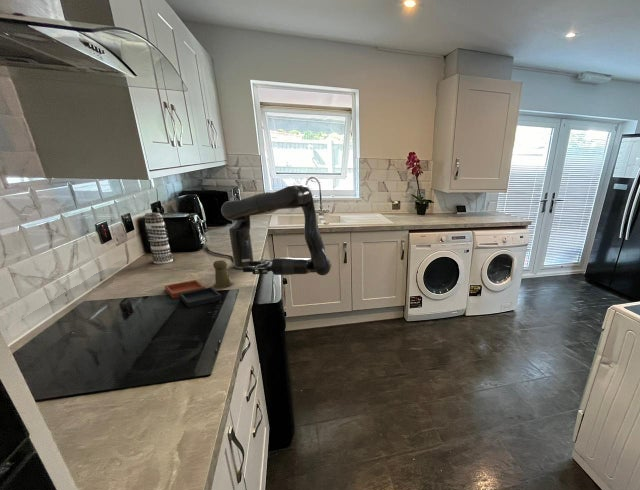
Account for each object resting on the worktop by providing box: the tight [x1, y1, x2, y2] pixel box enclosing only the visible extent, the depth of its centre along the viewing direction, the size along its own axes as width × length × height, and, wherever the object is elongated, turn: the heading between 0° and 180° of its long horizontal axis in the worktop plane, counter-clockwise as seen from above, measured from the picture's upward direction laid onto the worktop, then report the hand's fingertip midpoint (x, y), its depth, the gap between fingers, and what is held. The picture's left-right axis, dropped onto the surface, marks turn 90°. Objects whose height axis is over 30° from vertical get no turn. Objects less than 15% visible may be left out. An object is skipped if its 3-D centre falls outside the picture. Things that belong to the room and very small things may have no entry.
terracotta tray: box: [164, 279, 206, 299], centre depth 133 cm, size 12×12×2 cm
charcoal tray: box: [179, 286, 223, 309], centre depth 126 cm, size 12×12×2 cm
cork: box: [212, 260, 232, 289], centre depth 139 cm, size 6×6×11 cm
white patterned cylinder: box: [143, 212, 174, 265], centre depth 165 cm, size 9×9×25 cm
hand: (246, 266), depth 140 cm, fingers open, 8 cm apart
